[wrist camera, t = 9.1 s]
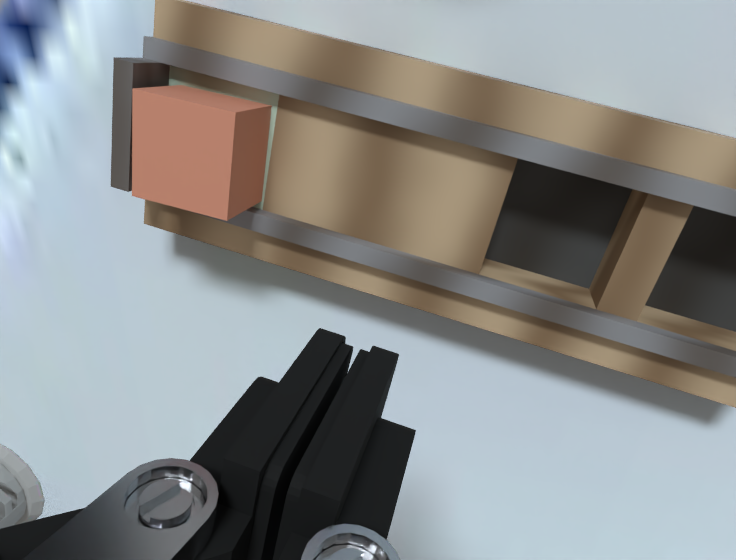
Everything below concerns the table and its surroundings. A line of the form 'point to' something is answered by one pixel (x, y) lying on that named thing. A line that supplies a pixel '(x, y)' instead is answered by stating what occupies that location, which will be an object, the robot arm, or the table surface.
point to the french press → (18, 490)
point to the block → (198, 149)
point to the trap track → (467, 195)
